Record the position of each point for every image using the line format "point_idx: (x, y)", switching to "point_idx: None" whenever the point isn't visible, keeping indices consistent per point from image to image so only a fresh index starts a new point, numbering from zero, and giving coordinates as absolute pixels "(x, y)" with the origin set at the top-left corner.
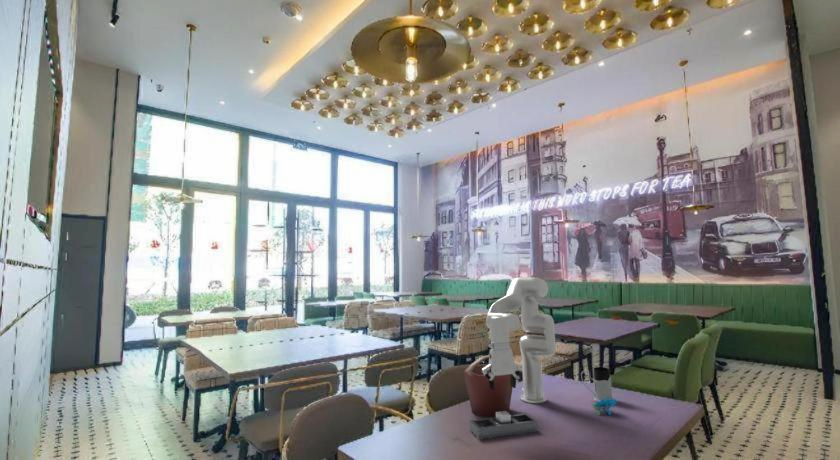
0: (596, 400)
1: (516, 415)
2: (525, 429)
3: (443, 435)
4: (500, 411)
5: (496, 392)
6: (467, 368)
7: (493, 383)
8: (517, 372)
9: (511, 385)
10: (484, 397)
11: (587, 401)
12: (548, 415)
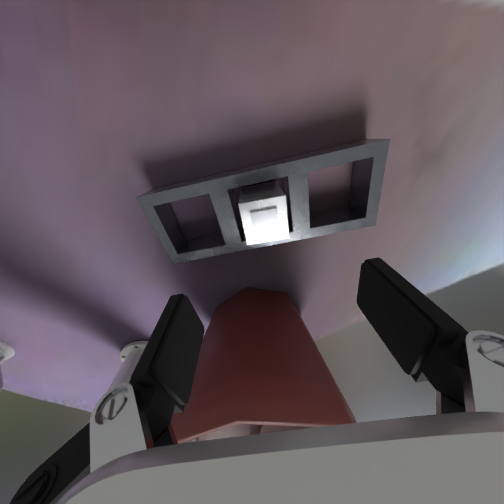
0: (5, 345)
1: (206, 251)
2: (192, 181)
3: (450, 188)
4: (269, 240)
5: (256, 341)
6: None
7: (415, 301)
8: (50, 479)
9: (198, 324)
10: (293, 329)
11: (28, 343)
12: (119, 287)
